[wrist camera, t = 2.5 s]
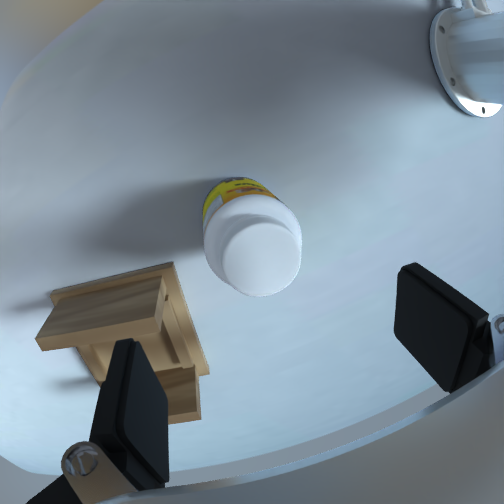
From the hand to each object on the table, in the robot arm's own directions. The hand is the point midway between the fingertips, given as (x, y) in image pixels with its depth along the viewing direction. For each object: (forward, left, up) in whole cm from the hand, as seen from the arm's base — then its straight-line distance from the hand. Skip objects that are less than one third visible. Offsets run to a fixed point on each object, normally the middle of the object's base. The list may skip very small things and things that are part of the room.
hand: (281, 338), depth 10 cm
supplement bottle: (0, +1, -16) cm, 16 cm away
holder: (+9, -11, -16) cm, 21 cm away
